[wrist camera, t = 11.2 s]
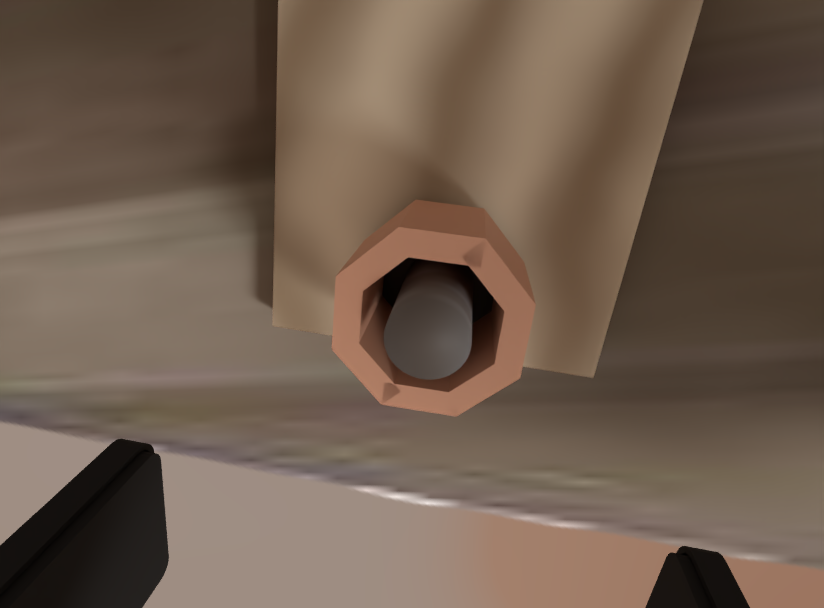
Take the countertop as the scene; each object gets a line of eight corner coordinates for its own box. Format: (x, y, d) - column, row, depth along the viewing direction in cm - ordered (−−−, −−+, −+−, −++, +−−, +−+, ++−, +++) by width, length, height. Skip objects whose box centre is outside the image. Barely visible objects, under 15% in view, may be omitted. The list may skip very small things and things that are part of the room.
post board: (723, -119, 19) (898, -272, 11) (587, 363, 26) (633, 475, 19) (295, -161, 20) (175, -329, 12) (282, 314, 27) (204, 401, 20)
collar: (533, 214, 22) (548, 247, 17) (504, 362, 24) (509, 425, 20) (367, 193, 22) (338, 218, 17) (357, 340, 25) (329, 396, 20)
